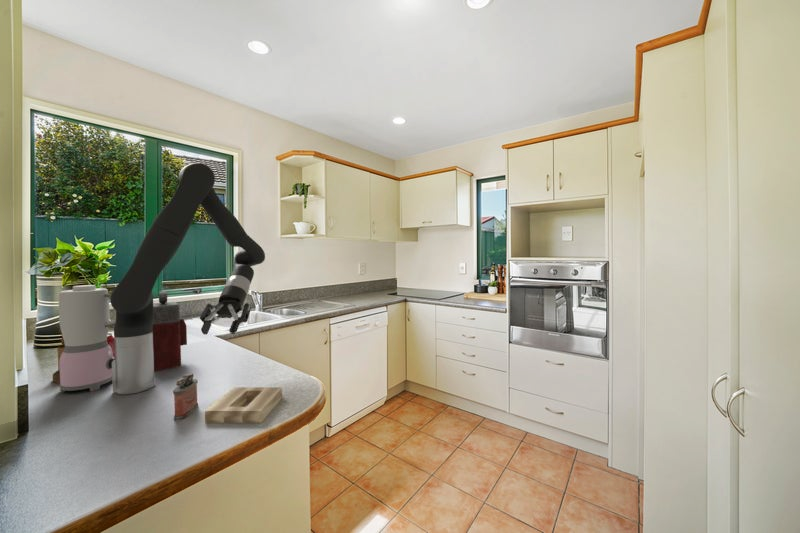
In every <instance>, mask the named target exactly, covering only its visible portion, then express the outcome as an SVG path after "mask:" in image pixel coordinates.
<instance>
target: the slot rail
mask: <svg viewBox="0 0 800 533" xmlns="http://www.w3.org/2000/svg"><path fill="white" fill-rule="evenodd" d="M282 398H283V387H277V386H274V387H267V386H266V387H265V386H263V387H260V386H259V387H251V386H249V387H248V386H247V387H245V386H244V387H243V386H241V387H237V386H236V387H233V388H232V389H230V390H229V391H228V392H227V393H225V394H224V395H223V396H222V397H220V398H219V399H217V401H215V402H214V403H213V404H211V405H210V406H209V407H207V408H206V410H204V423H205V424H207V423H215V424H219V423H221V424H224V423H226V424H227V423H228V424H232V423H235V424H239V423H240V424H242V423H243V424H247V423H249V424H252V423H253V424H254V423H255V424H256V423H257V424H261V423H262V422H264V420H265V419H266V418H267V416H268V415H269V414H270V413H271V412H272V410H273V409H274V408H275V407H276V406H277V405H278V403H279V402H280V401H281V400H282ZM246 402H250V403H248V405H246V406H243V405H244V404H246Z"/></svg>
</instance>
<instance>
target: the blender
mask: <svg viewBox="0 0 800 533" xmlns="http://www.w3.org/2000/svg"><path fill="white" fill-rule="evenodd" d="M108 290H109V289H107V288H102V287H101V288H100V287H99V288H96V285H95V284H84V285H83V284H82V285H73V286H72V289H68V290H67V289H65V290H62V291H60V292H59V294H58V319H59V321H58V322H59V328H61V332H62V335H61V337H62V336H63V339H64V343H65V348H64V351H63V353H62V354H61V357H60V360H59V367H60V382H59V383H60V384H59V390H60V393H61V394H63V393H65V392H73V391H79V390H80V391H81V390H86V389H89V392H94V391H98V390H100V386H102V385H105V384H107V383H109V382H111V383H113V382H112V361H114V360H115V359H113V352H112V349H111V347H110V346H109V344H108V342H107V334H108V333H109V329H110V327H111V328H112V327H114V326H115V322H116V310H115V309H114V308H113V311H114V312H113V313H114V314H113V315H114V317H113V318H114V319H113V320H110V319H111V317H110V316H111V313H110V312H111V311H110V309H111V308H110V297H111V294H112V293H111V294H110V293H109V291H108Z"/></svg>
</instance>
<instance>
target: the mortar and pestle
mask: <svg viewBox="0 0 800 533" xmlns="http://www.w3.org/2000/svg"><path fill="white" fill-rule="evenodd" d="M58 333H59V334H60V335H61V338H60V343H61V345H59V346H57V367H58V368H57V369H58V370H56V371H55V372H54V373H53V374H52V382H54V383H60V367H59V360H60V357H61V354H62V353H63V351H64V348H65V343H64V339H63V336H62V332H61V328H60V327H59V328H58Z"/></svg>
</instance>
